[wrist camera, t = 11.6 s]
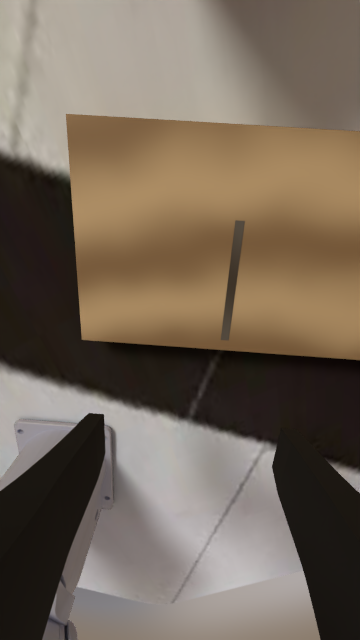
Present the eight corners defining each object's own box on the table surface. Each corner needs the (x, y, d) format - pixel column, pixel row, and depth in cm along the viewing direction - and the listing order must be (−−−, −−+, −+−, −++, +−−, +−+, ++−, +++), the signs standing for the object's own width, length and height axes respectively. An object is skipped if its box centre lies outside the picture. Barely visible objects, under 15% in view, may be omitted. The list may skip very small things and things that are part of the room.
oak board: (518, 355, 19) (563, 375, 17) (94, 325, 20) (81, 339, 17) (625, 162, 15) (705, 151, 13) (84, 129, 16) (65, 113, 13)
